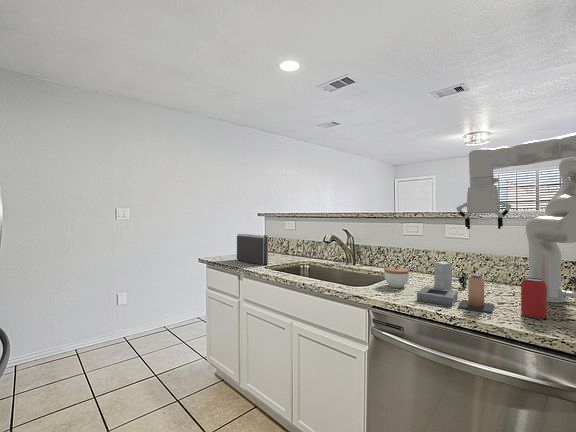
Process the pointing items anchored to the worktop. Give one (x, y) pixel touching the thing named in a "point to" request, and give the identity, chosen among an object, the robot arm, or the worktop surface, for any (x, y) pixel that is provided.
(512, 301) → the worktop surface
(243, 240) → the dark grey box
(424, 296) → the housing
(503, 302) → the worktop surface
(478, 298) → the tan tall block
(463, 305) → the mat
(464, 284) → the valve
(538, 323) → the worktop surface
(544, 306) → the beer can
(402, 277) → the lidded jar
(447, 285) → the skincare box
